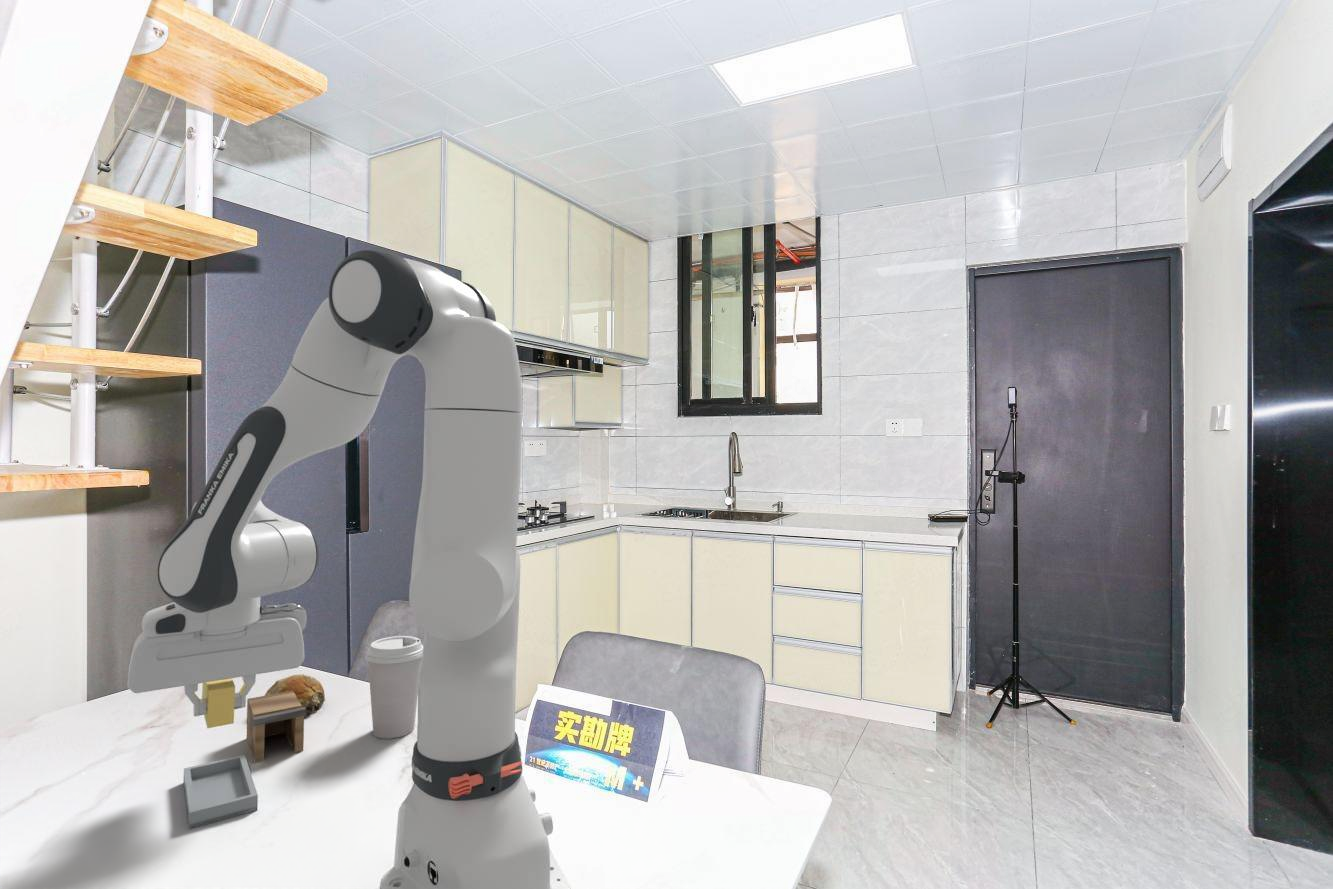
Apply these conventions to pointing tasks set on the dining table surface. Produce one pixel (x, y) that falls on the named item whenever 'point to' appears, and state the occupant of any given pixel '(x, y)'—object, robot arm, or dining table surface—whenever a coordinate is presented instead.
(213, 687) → the yellow rectangular block
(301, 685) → the bread roll
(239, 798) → the tray
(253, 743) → the dispenser
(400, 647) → the coffee cup
